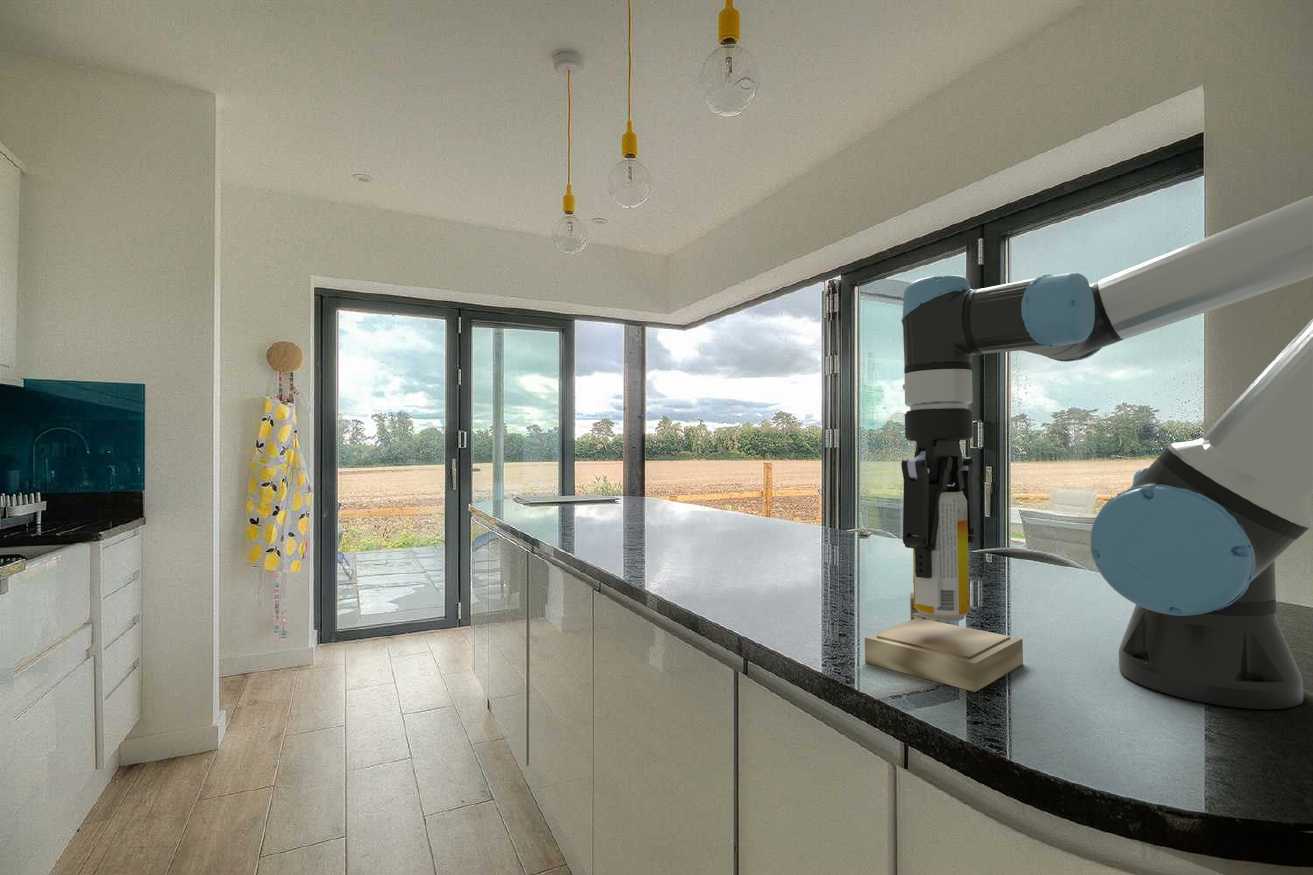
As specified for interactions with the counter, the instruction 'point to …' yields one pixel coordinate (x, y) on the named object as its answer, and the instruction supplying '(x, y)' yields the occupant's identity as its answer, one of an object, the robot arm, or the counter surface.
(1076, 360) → the robot arm
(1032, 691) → the counter surface
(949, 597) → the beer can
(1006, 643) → the podium
